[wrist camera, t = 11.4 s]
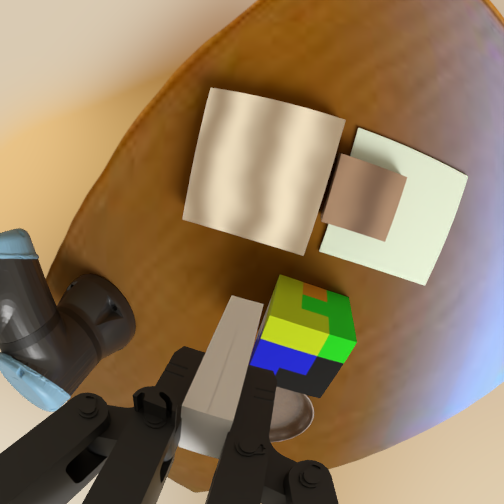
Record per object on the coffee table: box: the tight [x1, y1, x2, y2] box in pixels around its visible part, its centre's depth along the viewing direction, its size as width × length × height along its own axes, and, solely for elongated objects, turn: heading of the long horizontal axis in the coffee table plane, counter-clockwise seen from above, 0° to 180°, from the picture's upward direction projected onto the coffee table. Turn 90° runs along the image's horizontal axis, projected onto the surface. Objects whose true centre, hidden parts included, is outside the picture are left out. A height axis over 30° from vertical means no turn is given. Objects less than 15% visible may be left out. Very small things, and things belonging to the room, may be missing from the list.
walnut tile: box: [321, 153, 407, 242], centre depth 32 cm, size 8×8×2 cm
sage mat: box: [319, 128, 468, 286], centre depth 33 cm, size 16×16×1 cm
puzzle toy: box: [249, 274, 357, 398], centre depth 36 cm, size 10×10×10 cm
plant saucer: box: [269, 387, 314, 442], centre depth 48 cm, size 21×21×3 cm
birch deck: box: [183, 88, 345, 256], centre depth 33 cm, size 15×16×4 cm
